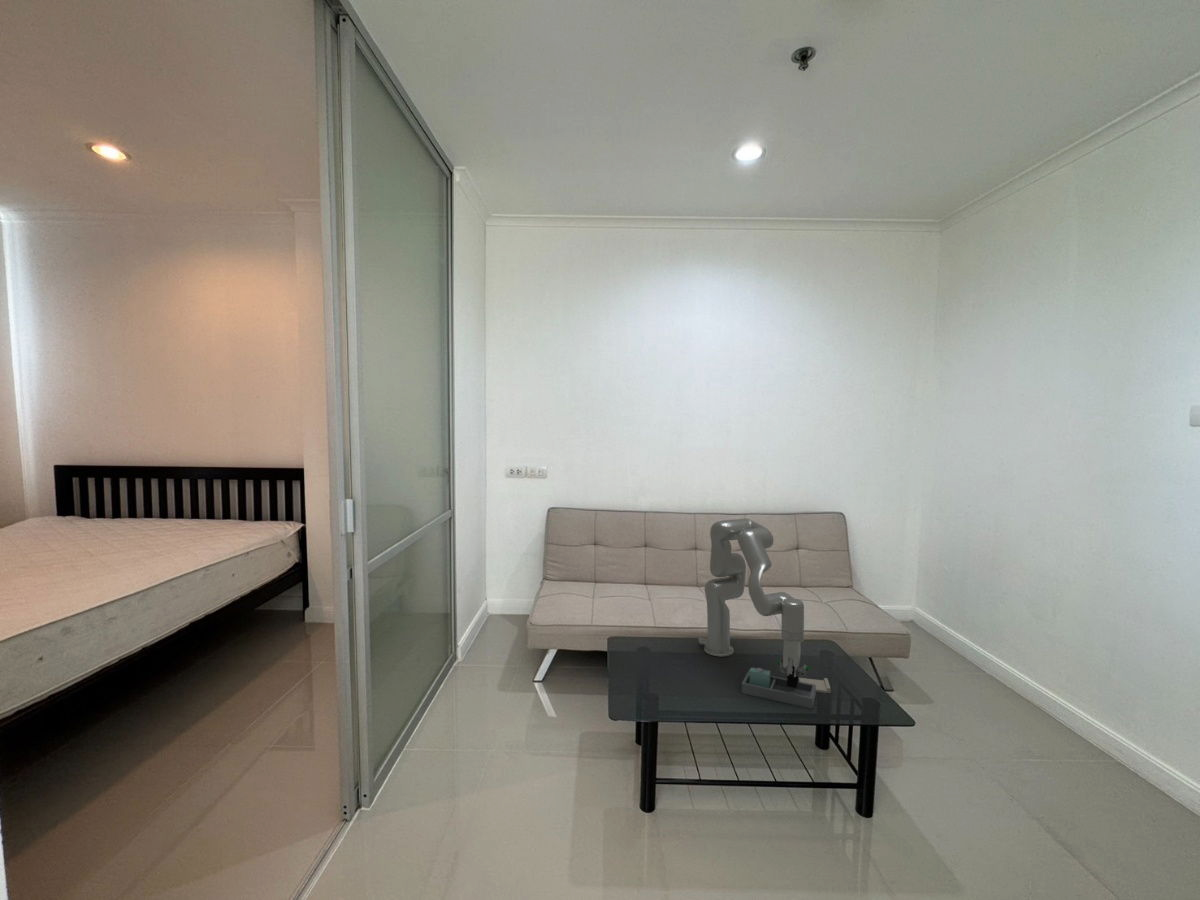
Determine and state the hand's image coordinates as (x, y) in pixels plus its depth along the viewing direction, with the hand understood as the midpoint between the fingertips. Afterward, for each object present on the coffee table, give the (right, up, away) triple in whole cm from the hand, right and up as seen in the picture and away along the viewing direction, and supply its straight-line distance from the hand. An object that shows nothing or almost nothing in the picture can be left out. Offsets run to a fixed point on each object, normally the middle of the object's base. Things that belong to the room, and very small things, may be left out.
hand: (792, 684), depth 181 cm
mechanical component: (0, -2, 0) cm, 2 cm away
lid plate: (+11, -4, +7) cm, 14 cm away
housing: (-4, -4, +2) cm, 7 cm away
